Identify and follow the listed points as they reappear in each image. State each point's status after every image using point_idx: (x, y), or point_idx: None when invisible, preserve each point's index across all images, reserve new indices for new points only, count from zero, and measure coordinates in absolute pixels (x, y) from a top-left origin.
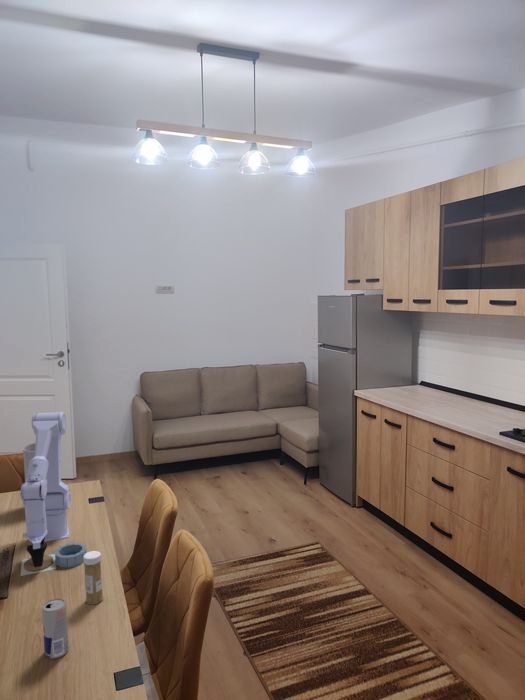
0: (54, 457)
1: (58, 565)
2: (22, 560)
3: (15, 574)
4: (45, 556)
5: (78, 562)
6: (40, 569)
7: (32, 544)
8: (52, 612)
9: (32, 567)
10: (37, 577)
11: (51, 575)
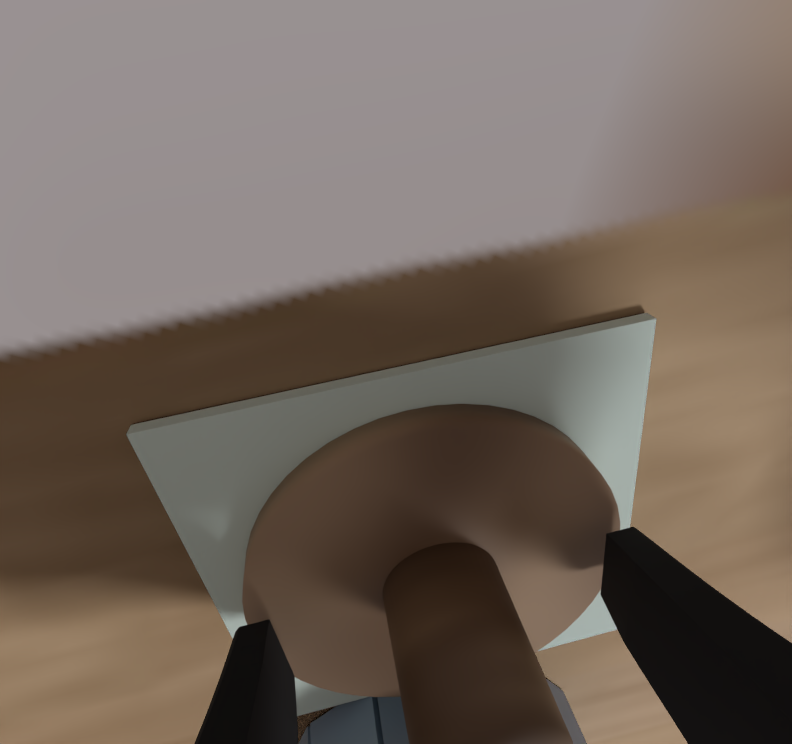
0: None
1: (332, 727)
2: (630, 332)
3: (220, 326)
4: (555, 608)
5: None
6: None
7: (768, 708)
8: None
9: (292, 566)
10: (111, 614)
11: (156, 709)
